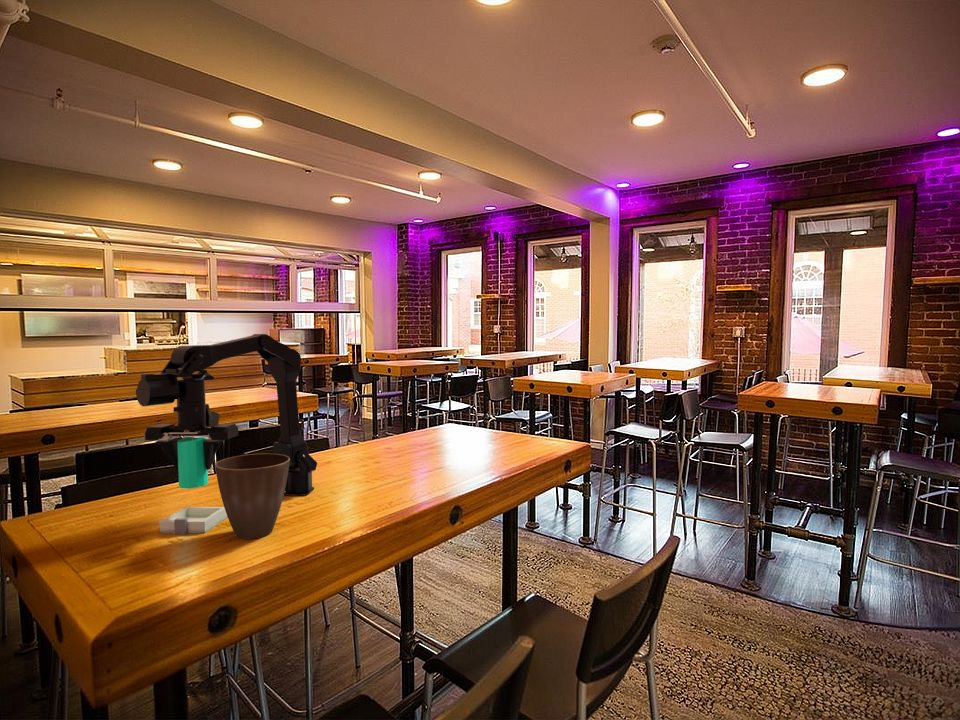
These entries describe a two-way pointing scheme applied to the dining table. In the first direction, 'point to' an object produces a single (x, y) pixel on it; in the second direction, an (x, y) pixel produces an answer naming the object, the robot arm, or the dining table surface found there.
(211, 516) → the white square tray
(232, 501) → the plant pot
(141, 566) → the dining table surface
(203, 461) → the candle
